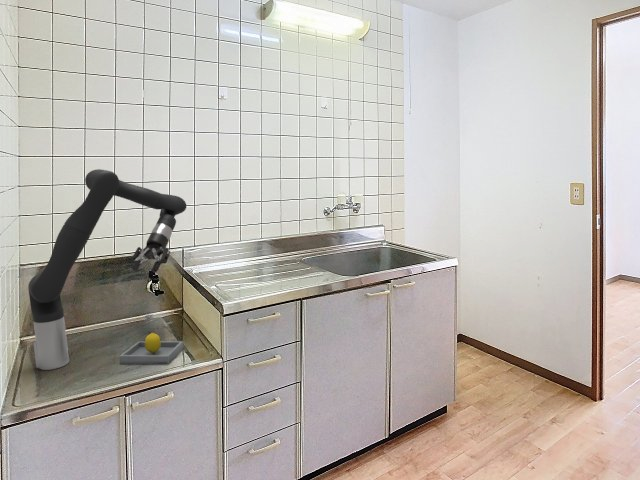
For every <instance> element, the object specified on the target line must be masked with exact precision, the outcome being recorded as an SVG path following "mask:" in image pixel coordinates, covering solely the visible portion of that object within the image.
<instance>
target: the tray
mask: <svg viewBox="0 0 640 480" xmlns="http://www.w3.org/2000/svg"><path fill="white" fill-rule="evenodd" d="M184 344H185V343H184V341H177V340H176V341H175V340H174V341H173V340H172V341H168V340H167V341H164V340H161V346H160V348H159V350H158V351H156V352H155V353H154V354H153V353H151V352H149V351H147V350H146V348H145V340H144V341H143V340H141V341H140V340H138V341H137V342H135V344H133V345H132V346H131V347H129V348H128V349H127V350H125V351H124V352H122V354H121V353H120V355H119V356H118V358H119V365H166V366H167V365H170V364H171V363H172V362H173V361H174V359H176V357H177V356H178V355H180V354H181V353H182V351H183V350H184V349H185V348H184Z"/></svg>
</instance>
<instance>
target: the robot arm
mask: <svg viewBox="0 0 640 480" xmlns="http://www.w3.org/2000/svg"><path fill="white" fill-rule="evenodd" d="M84 182H85V185H86V187H87V188H88V190H89V192H88V194H87V196H86V198H85V199H84V200H83V202H82V204H81V205H80V206H79V207H77V208H76V209H75V210H74V211H73V212H72V213H71V214H70V215H69V216H68V217H67V219H66V220H65V222H64V223H63V225H62V226H61V229H60V231H59V232H58V234H57V236H56V239H55V242H54V245H53V248H52V252H51V255H50V258H49V260H48V262H47V264H46V266H44V269H43V270H42V271H41V273H38V274H36V275H34V276H33V277H32V278H31V279H30V281H29V283H28V285H27V286H28V287H27V289H28V296H29V297H28V298H29V303H30V309H31V311H30V312H31V315H32V321H33V329H34V330H33V331H34V336H35V338H34V339H35V341H33V343H32V344H33V351H34V358H35V368H37V369H40V370H43V371H49V370H51V371H52V370H56V369H59V368H62V367H65V366H66V365H68V363H70V357H69V348H68V340H67V339H68V338H67V331H66V322H65V321H66V320H65V313H64V308H63V304H62V298H61V293H62V291H63V289H64V286H65V283H66V282H67V279H68V277H69V274H70V272H71V270H72V268H73V266H74V264H75V263H76V261H77V260H78V258H79V257H80V255H81V253H82V252H83V250H84V248H85V247H86V244H87V243H88V241H89V239H90V237H91V235H92V233H93V231H94V230H95V227H96V225H97V224H98V222H99V220H100V218H101V216H102V214H103V212H104V210H105V209H106V208H107V206H108V205H109V203H110V202H111V201H112V198H114V196H115V197H118V198H122V199H125V200H128V201H130V202H134V203H135V204H139V205H141V206H143V207H147V208H150V209H153V210H160V212H159V217H158V219H157V222H156V224H155V225H154V227H153V228H152V230H151V232H150V234H149V237H148V239H147V241H146V245H145V247H144V248H141V247H140V246H138V247H137V248H136V249H135V252H134V253H133V255H132V257H131V259H132V261H133V265H132V268H131V269H132V270H133V272H136V273H137V272H138V270H139V269H140V266H141V264H142V263H144V262H146V261H147V260H155V261H154V264H153V266H152V267H151V271H152V272H153V273H157V272H158V271H159V270H160V269H159V268H160V267H161V265H163V264H164V265H165V264H167V262H168V261H169V257H170V254H171V250H170V249H169V248H168V247H167V246H168V245H169V244H168V243H169V241H170V239H171V237H172V233H173V231H174V229H175V227H176V224H177V220H176V218H175V217H176V216H177V215H180V214H182V213H183V212H185V211H186V210H187V203H186V201H185V200H184V199H183V198H182V197H180V196H179V195H178V196H177V195H173V194H165V193H161V192H158V191H155V190H153V189H150V188H147V187H143V186H139V185H135V184H131V183H128V182H125V181H123V180H121V179H119V177H118V175H117V174H116V173H115V172H113V171H110V170H107V169H101V168H99V169H98V168H97V169H93V170H91V171H89V172H88V173H87V174H86V176H85V180H84Z"/></svg>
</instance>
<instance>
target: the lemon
mask: <svg viewBox="0 0 640 480" xmlns="http://www.w3.org/2000/svg"><path fill="white" fill-rule="evenodd" d="M144 339H145V340H144V341H145V348H146V350H147V351H149V352H151V353H153V354H154V353H155V352H156V351H158V350H159V348H160V346H161V341H162V340H161V337H160V336H159V335H158V334H156V333H154V332H151V333H150V334H148V335H147V336H146V337H145V338H144Z"/></svg>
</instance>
